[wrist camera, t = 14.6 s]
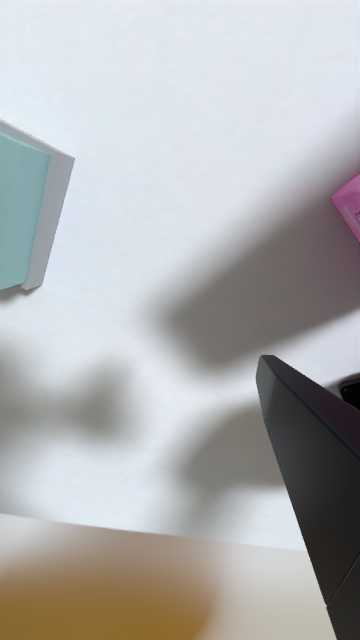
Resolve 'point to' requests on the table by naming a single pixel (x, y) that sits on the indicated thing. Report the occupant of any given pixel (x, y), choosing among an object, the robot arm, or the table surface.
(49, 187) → the grey base slab
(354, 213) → the gum box
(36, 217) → the teal top slab
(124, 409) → the table surface
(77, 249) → the table surface
